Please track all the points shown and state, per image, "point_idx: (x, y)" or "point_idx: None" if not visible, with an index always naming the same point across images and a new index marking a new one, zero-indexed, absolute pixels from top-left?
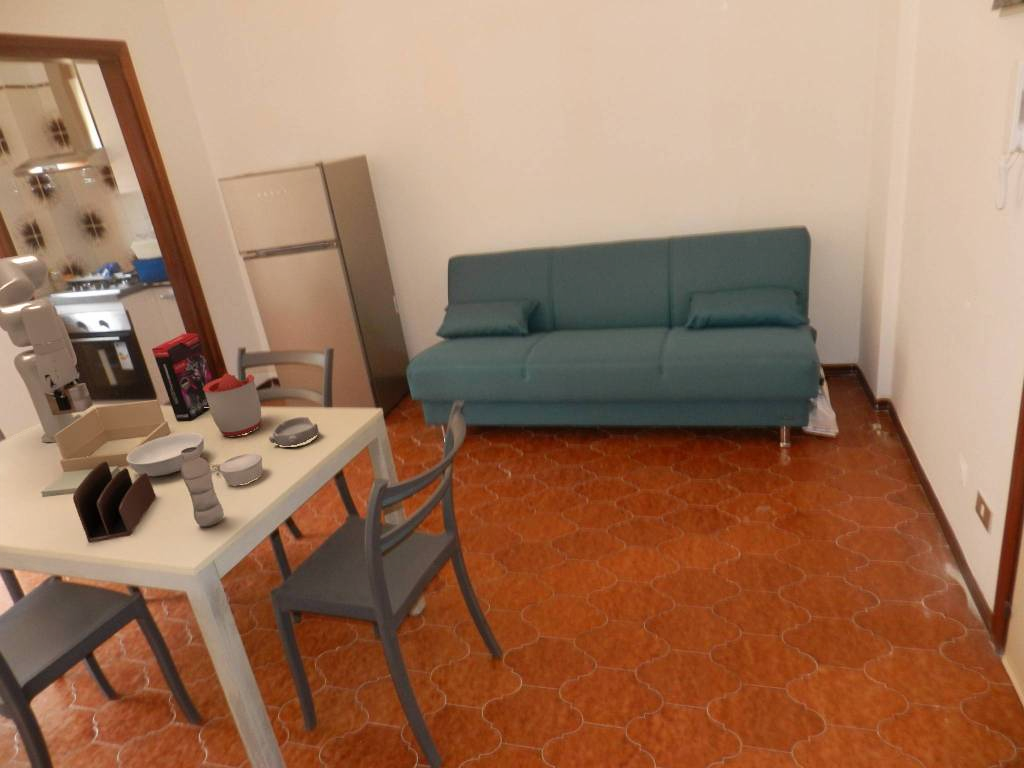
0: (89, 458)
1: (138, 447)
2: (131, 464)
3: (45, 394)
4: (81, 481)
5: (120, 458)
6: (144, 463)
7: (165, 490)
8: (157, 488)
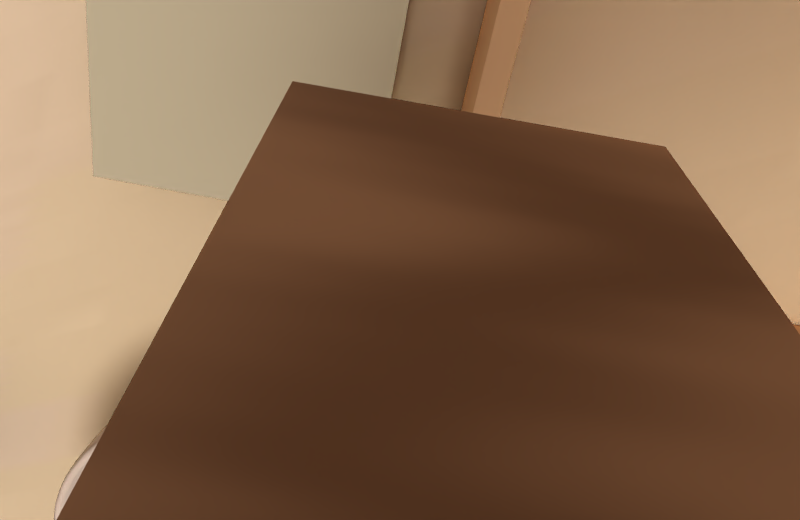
0: (493, 29)
1: None
2: (91, 444)
3: (82, 477)
4: (189, 44)
5: None
6: (56, 517)
7: (35, 480)
8: (62, 448)
